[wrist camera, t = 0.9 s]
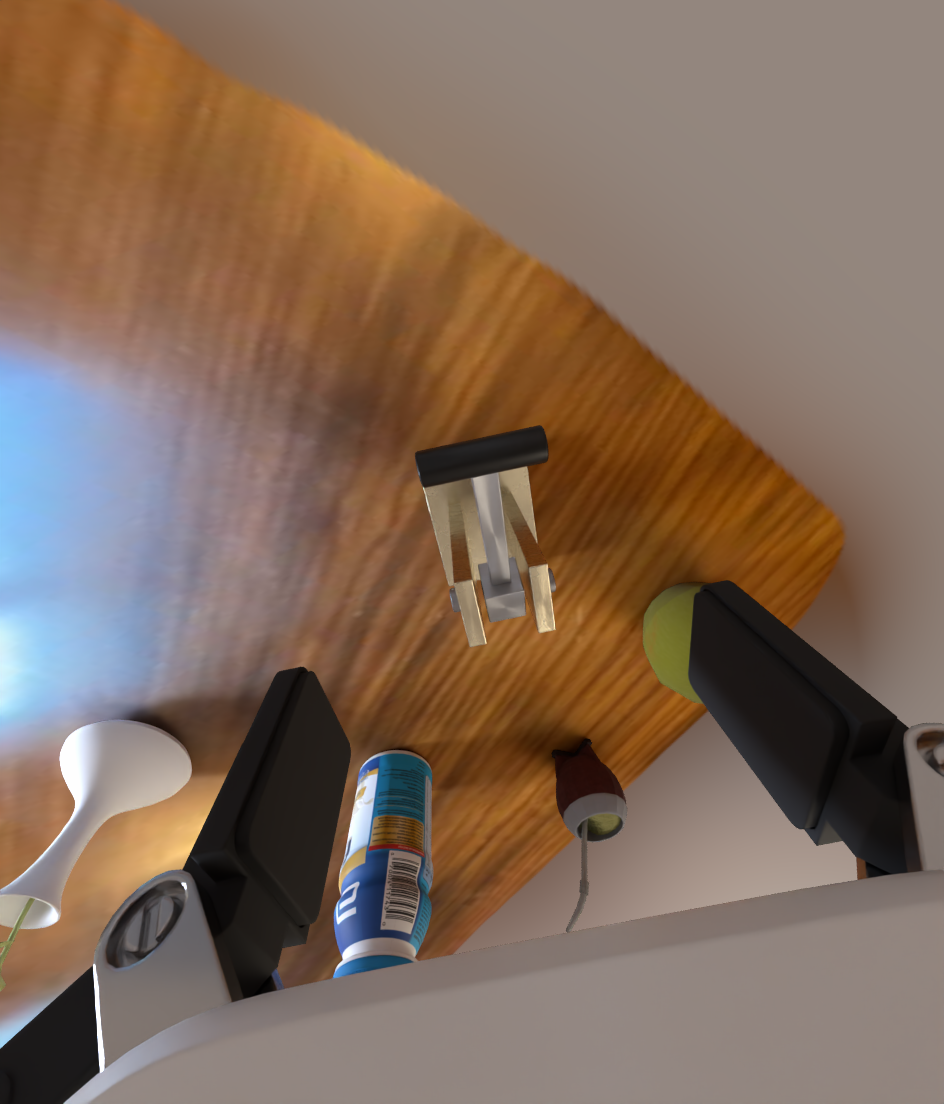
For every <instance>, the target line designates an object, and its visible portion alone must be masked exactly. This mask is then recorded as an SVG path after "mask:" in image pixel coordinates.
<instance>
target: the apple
mask: <svg viewBox="0 0 944 1104" xmlns="http://www.w3.org/2000/svg"><path fill="white" fill-rule="evenodd" d="M706 584H711V583H703V582H689V583H679V584H677V585H675V586H673V587H670V588H668V589H666V590H664V591H663V592H662V593H661V594H660V595H659V596H657V597H656V598H655V599H654V600H653V601H652V602H651V604H650V606H649V608H648V609H647V611H646V613H645V614H644V623H643V647H644V650H645V652H646V655H647V657H648V660H649V662H650V664H651V666H652V668H653V670H654V672H655V673H656V675H657V677H658V679H659V681H660V683H662V684H663V685H665V686H667V687H669V688H670V689H672V690H674V691H675V692H677V693H679V694H681V695H682V696H684V697H686V698H688V699H689V700H691V701H693V702H695V703H702V704H703V702H702V701H701V699H700V698H699V697H698V695H697V694H696V693H695V691H694V690H693V688H692V686H691V684H690V682H689V678H688V668H689V654H690V641H691V628H692V615H693V601H694V595H695V594H696V593H698V592H700V588H701V587H702V586H703V585H706Z"/></svg>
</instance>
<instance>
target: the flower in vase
mask: <svg viewBox="0 0 944 1104" xmlns="http://www.w3.org/2000/svg"><path fill="white" fill-rule="evenodd" d="M60 765H61V769H62V774H63V777H64V779H65V781H66V783H67V785H68V787H69V789H70V791H71V792H72V794H73V796H74V799H75V803H76V807H75V811H74V813H73V815H72V817H71V819H70V820H69V822H68V823H67V825H66V826H65V828H64V829H63V830H62V832H61V833H60V834H59V836H58V837H57V838H56V839H55V840H54V842H53V843H52V844H51V845H50V847H49V848H48V849H47V850H46V851H45V852H44V853H43V854H42V855H41V856H40V858H39V859H38V860H37V861H36V862H35V863H34V864H33V865H32V866H31V867H30V868H28V869H27V870H26V871H25V872H24V873H23V874H22V875H21V876H20V877H18V878H17V879H16V880H15V881H13V882H12V883H10V884H9V885H7V886H6V887H4V888H3V889H1V890H0V925H4V926H8V927H13V930H12V932H11V934H10V936H9V939H8V941H5V942H0V948H1V947H4V946H5V947H4V949H3V952H2V954H1V956H0V991H1V990H2V989H3V988H4V987H5V986H6V984H5V982H4V980H3V979H2V976H1V968H2V964H3V962H4V960H5V958H6V955H7V953H8V951H9V949H10V947H11V945H12V943H13V942H14V941H15V940H14V939H15V936H16V934H17V932H18V930H19V928H20V929H37V928H43V927H47V926H50V925H53V924H55V923H56V922H57V921H58V920H59V918H60V915H61V898H62V893H63V890H64V887H65V883H66V881H67V879H68V877H69V875H70V873H71V870H72V868H73V867H74V865H75V863H76V861H77V860H78V858H79V856H80V854H81V853H82V851H83V850H84V848H85V847H86V845H87V844H88V842H89V840H90V839H91V838H92V836H93V835H94V834H95V832H96V831H97V830H98V829H99V827H100V826H101V825H102V824H103V823H104V822H105V821H106V820H108V819H109V818H110V817H112V816H114V815H116V814H118V813H122V812H125V811H129V810H134V809H138V808H141V807H145V806H149V805H152V804H155V803H157V802H160V801H162V800H165V799H167V798H169V797H171V796H173V795H174V794H175V793H177V792H178V791H179V790H180V789H181V788H182V787H183V786H184V785H185V784H186V783H187V782H188V780H189V779H190V776H191V772H192V766H191V759H190V756H189V753H188V752H187V750H186V748H185V747H184V746H183V745H182V744H181V743H180V742H179V741H178V740H177V739H176V738H175V737H173V736H172V735H170V734H169V733H167V732H165V731H163V730H161V729H159V728H157V727H155V726H152V725H149V724H145V723H141V722H137V721H131V720H105V721H99V722H96V723H92V724H90V725H87V726H84V727H82V728H80V729H78V730H76V731H74V732H73V733H72V734H71V735H70V736H69V737H68V738H67V739H66V741H65V743H64V745H63V748H62V751H61V753H60Z"/></svg>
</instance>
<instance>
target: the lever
mask: <svg viewBox="0 0 944 1104" xmlns="http://www.w3.org/2000/svg"><path fill="white" fill-rule="evenodd" d="M415 459H416V465H417V470H418V474H419V478H420V481H421V484H422V486H423V488H428V487H433V486H437V485H442V484H447V483H451V482H456V481H461V480H465V479H470V478H471V481H472V486H473V491H474V496H475V502H476V507H477V512H478V517H479V522H480V528H481V533H482V538H483V543H484V549H485V554H486V559H487V563H482V564H478V569H479V574H480V579H481V584H482V589H483V594H484V599H485V603H486V608H487V612H488V617H489V621H490V622H496V621H500V620H505V619H510V618H515V617H520V616H525V615H526V607H525V594H524V588H523V584H522V581H521V577H520V573H519V570H518V566H517V562H516V559H515V557H511V558H509V556H508V547H507V539H506V531H505V522H504V514H503V505H502V497H501V488H500V480H499V472H503V471H508V470H512V469H517V468H522V467H527V466H531V465H536V464H541V463H545V462H547V460H548V444H547V438H546V434H545V431H544V429H543V427H542V426H540V425H538V426H534V427H529V428H524V429H520V430H515V431H510V432H506V433H501V434H496V435H492V436H487V437H482V438H478V439H473V440H468V441H464V442H459V443H454V444H450V445H445V446H440V447H436V448H431V449H426V450H422V451H417V452H416V453H415Z"/></svg>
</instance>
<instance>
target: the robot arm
mask: <svg viewBox="0 0 944 1104" xmlns="http://www.w3.org/2000/svg"><path fill="white" fill-rule="evenodd" d="M688 678H689V682H690V684H691V686H692V688H693V690H694V691H695V693H696V694H697V695H698V697H699V698H700V699H701V701H702V702H703V704H704V705H705V706H706V708H707V709H708V710H709V712H710V713H711V714H712V716H713V717H714V718H715V720H716V721H717V723H718V724H719V725H720V727H721V728H722V729H723V731H724V732H725V733H726V735H727V736H728V737H729V739H730V740H731V742H732V743H733V744H734V746H735V747H736V748H737V750H738V751H739V753H740V754H741V755H742V756H743V758H744V759H745V761H746V762H747V763H748V765H749V766H750V767H751V769H752V770H753V772H754V773H755V774H756V776H757V777H758V778H759V780H760V781H761V782H762V784H763V785H764V787H765V788H766V789H767V790H768V792H769V793H770V795H771V796H772V797H773V799H774V800H775V802H776V803H777V804H778V806H779V807H780V808H781V810H782V811H783V812H784V814H785V815H786V816H787V818H788V819H789V820H790V822H791V823H792V824H793V825H794V826H795V827H797V828H798V829H804V830H805V831H806V832H807V833H808V835H809V836H810V838H811V839H812V840H813V841H814V843H815V844H816V845H817V846H818V845H823V844H829V843H833V842H839V841H843V842H844V843H845V844H846V845H847V846H848V848H849V849H850V850H851V851H852V853H853V854H854V855H855V856H856V858H857V878H858V880H855V881H848V882H842V883H836V884H830V885H824V886H818V887H812V888H805V889H800V890H794V891H788V892H783V893H777V894H772V895H767V896H761V897H756V898H750V899H745V900H739V901H734V902H729V903H723V904H718V905H712V906H707V907H702V908H696V909H690V910H685V911H680V912H674V913H669V914H664V915H658V916H653V917H648V918H642V919H637V920H631V921H626V922H621V923H616V924H610V925H606V926H600V927H595V928H589V929H584V930H579V931H573V932H568V933H563V934H557V935H553V936H547V937H542V938H537V939H531V940H526V941H521V942H516V943H510V944H505V945H500V946H495V947H490V948H484V949H479V950H474V951H469V952H464V953H459V954H453V955H448V956H443V957H438V958H433V959H428V960H423V961H418V962H413V963H407V964H402V965H397V966H392V967H387V968H382V969H377V970H372V971H366V972H361V973H356V974H351V975H347V976H342V977H338V978H333V979H328V980H324V981H319V982H315V983H310V984H305V985H301V986H296V987H292V988H287V989H284V986H283V984H282V981H281V979H280V976H279V974H278V971H277V969H276V968H277V967H278V963H279V959H280V955H281V951H282V948H285V947H291V946H296V945H301V944H306V940H307V936H308V931H309V926H310V924H312V923H314V922H315V921H316V920H317V917H318V915H319V911H320V906H321V901H322V896H323V892H324V887H325V882H326V877H327V872H328V867H329V862H330V857H331V852H332V847H333V842H334V837H335V832H336V827H337V822H338V817H339V812H340V807H341V802H342V797H343V792H344V788H345V783H346V778H347V773H348V768H349V763H350V757H351V748H350V743H349V741H348V739H347V737H346V735H345V733H344V731H343V729H342V727H341V725H340V723H339V721H338V719H337V717H336V715H335V713H334V711H333V709H332V707H331V705H330V703H329V701H328V699H327V697H326V695H325V693H324V691H323V689H322V687H321V685H320V683H319V681H318V679H317V677H316V675H315V673H314V672H313V671H309V672H308V671H307V669H306V668H304V667H298V668H293V669H288V670H283V671H279V672H278V673H277V674H276V675H275V677H274V679H273V681H272V683H271V686H270V688H269V690H268V692H267V694H266V696H265V698H264V700H263V702H262V705H261V707H260V709H259V711H258V713H257V715H256V717H255V719H254V721H253V724H252V726H251V728H250V730H249V732H248V734H247V736H246V738H245V740H244V742H243V744H242V746H241V748H240V750H239V752H238V754H237V756H236V758H235V760H234V762H233V765H232V767H231V769H230V771H229V773H228V775H227V777H226V779H225V781H224V783H223V786H222V788H221V790H220V792H219V794H218V796H217V798H216V800H215V802H214V804H213V807H212V809H211V811H210V813H209V815H208V817H207V819H206V821H205V823H204V825H203V828H202V830H201V832H200V834H199V836H198V838H197V840H196V842H195V844H194V847H193V849H192V851H191V853H190V855H189V857H188V859H187V861H186V863H185V865H184V868H183V870H171V871H167V872H165V873H162V874H160V875H158V876H155V877H154V878H152V879H151V880H149V881H148V882H146V883H145V884H143V885H142V886H140V887H139V888H138V889H137V890H136V891H135V892H134V893H133V894H132V895H131V896H129V897H128V898H127V899H126V900H125V901H124V903H123V904H122V905H121V906H120V907H119V909H118V910H117V911H116V912H115V913H114V915H113V916H112V918H111V919H110V921H109V922H108V924H107V926H106V927H105V929H104V931H103V932H102V934H101V937H100V939H99V942H98V944H97V947H96V949H95V956H94V964H93V966H92V967H90V968H89V969H88V970H87V971H86V972H85V973H84V974H83V975H82V976H80V977H79V978H78V979H77V980H76V981H75V982H74V983H73V984H72V985H70V986H69V987H68V988H67V989H66V990H65V991H64V992H63V993H62V994H61V995H59V996H58V997H57V998H56V999H55V1000H54V1001H53V1002H52V1003H51V1004H49V1005H48V1006H47V1007H46V1008H45V1009H44V1010H43V1011H42V1012H41V1013H39V1014H38V1015H37V1016H36V1017H35V1018H34V1019H33V1020H32V1021H31V1022H29V1023H28V1024H27V1025H26V1026H25V1027H24V1028H23V1029H22V1030H21V1031H19V1032H18V1033H17V1034H16V1035H15V1036H14V1037H13V1038H12V1039H11V1040H9V1041H8V1042H7V1043H6V1044H5V1045H4V1046H3V1047H2V1048H1V1049H0V1104H944V724H942V723H922V724H918V725H915V726H911V728H908V727H907V726H906V725H904V724H903V723H902V722H901V721H900V720H898V719H897V716H895V715H894V714H893V713H892V712H891V711H889V710H888V709H887V708H886V707H884V706H883V705H882V704H881V703H880V702H878V701H877V700H876V699H875V698H873V697H872V696H871V695H870V694H869V693H867V692H866V691H865V690H864V689H862V688H861V687H860V686H859V685H858V684H856V683H855V682H854V681H853V680H851V679H850V678H849V677H848V676H847V675H845V674H844V673H843V672H842V671H841V670H839V669H838V668H837V667H836V666H834V665H833V664H832V663H831V662H829V661H828V660H827V659H826V658H825V657H823V656H822V655H821V654H820V653H819V652H817V651H816V650H815V649H814V648H812V647H811V646H810V645H809V644H808V643H806V642H805V641H804V640H803V639H801V638H800V637H799V636H798V635H796V634H795V633H794V632H793V631H792V630H791V629H789V628H788V627H787V626H786V625H784V624H783V623H782V622H781V621H780V620H778V619H777V618H776V617H775V616H773V615H772V614H771V613H770V612H769V611H767V610H766V609H765V608H764V607H762V606H761V605H760V604H759V603H758V602H756V601H755V600H754V599H753V598H751V597H750V596H749V595H748V594H747V593H745V592H744V591H743V590H742V589H740V588H739V587H738V586H737V585H736V584H734V583H733V582H731V581H728V580H726V581H721V582H716V583H711V584H706V585H703V586H702V587H701V588H700V592H698V593H696V594H695V595H694V601H693V615H692V628H691V641H690V654H689V668H688Z"/></svg>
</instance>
